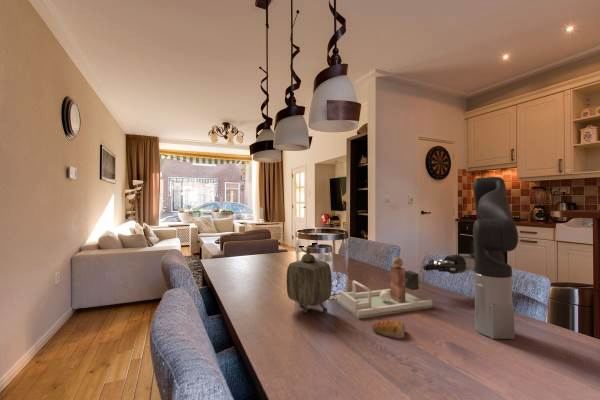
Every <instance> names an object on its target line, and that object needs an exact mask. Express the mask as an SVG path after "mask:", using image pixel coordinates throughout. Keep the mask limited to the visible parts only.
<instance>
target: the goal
mask: <svg viewBox="0 0 600 400" xmlns="http://www.w3.org/2000/svg"><path fill="white" fill-rule="evenodd" d="M356 285H357V286H358V287H360V288H362V289H363V290H366V292H368V302H361V303H358V301H357V300H356V293H357V291H356V289H357V288H356V287H357V286H356ZM371 291H372V289H371V288H370V287H367V286H365V285H364V284H362V283H360V282H358V281H356V280H352V291H350V292H349V291H348V292H345V291H344V290H339V294H338V295H340V302H341V303H343V304H344V305H345V306H346V307H348V308H349V309H350V310H352V311H353V312H354V313H357V310H360V309H367V308H372V298H371Z"/></svg>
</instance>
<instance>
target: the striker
mask: <svg viewBox="0 0 600 400" xmlns="http://www.w3.org/2000/svg"><path fill="white" fill-rule="evenodd" d="M403 261H404V260H403V259H402V258H401V257H398V256H395V257H394V258H393V259H392V261H391V265H392V266H389V269H390V271H389V274H390V277H389V278H390V280H389V281H390V282H389V283H390V288H389V289H390V290H391V298H392V299H394V300H396V301H398V302H401V301H405V292H406V289H409V290H411V291H415V290H419V285H420V284H419V273H417V272H415V271H411V270H406V269H405V268H404V267H402V266H403V265H404V262H403Z"/></svg>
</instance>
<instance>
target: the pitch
mask: <svg viewBox="0 0 600 400" xmlns="http://www.w3.org/2000/svg"><path fill="white" fill-rule="evenodd" d="M382 291H388V292H389V293H390V295H391V290H390V288H386V289H378V290H371V298H372V308H367V309H360V310H357V313H354V312H353V311H352V310H350V309H349V308H348V307H346V306H345V305H344V304H343V303H341V302H340V295H339V294H337V295H336V302H337V303H338V304H339V305H341V307H343V308H344V309H345V310H347V311H348V312H350V313H351V314H352V315H353V316H354V317H355V318H357V319H358V320H359V319H366V318H373V317H380V316H387V315H393V314H398V313H399V314H400V313H405V312H407V313H408V312H413V311H419V310H425V309H426V310H427V309H432V308H433V300H432V299H425V300H423V299H420V298H419V297H416V296H415V295H412V294H410V293H408V292H406V291H405V301H401V302H398V301H396V300H394V299H392V298H391V299H390V300H389V301H388V302H384V301H382V300H381V299H380V293H381V292H382ZM356 300H357V301H358V303H361V302H368V291H362V292H361V291H360V292H356Z"/></svg>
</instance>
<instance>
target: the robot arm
mask: <svg viewBox="0 0 600 400" xmlns="http://www.w3.org/2000/svg"><path fill="white" fill-rule="evenodd" d="M472 192H473V201H474V206H475V213H476V220H475V221H474V222H473V227H472V238H473V239H472V241H473V250H474V251H473V253H458V254H457V253H456V254H449V255H447V256H445V258H444V259H439V260H435V259H430V260H429V261H428V263H425V264H423V266H422V267H423V268H422V269H423V270H424V271H426V272H428V271H435V272H436V271H438V272H440V273H441V272H444V273H449V274H452V275H456V274H463V273H465V274H466V273H469V272H473V271H474V328H475V331H476V332H478V334H479V333H480V334H481V335H484V336H486V337H489V338H491V339H492V340H515V335H516V334H515V333H516V332H515V329H516V327H515V326H516V325H515V305H514V304H513V270H512V269H513V268H512V266H511V265H510V264H508V263H506V261H505V256H504V253H503V252H512V251H514V250H515V249H516V248H517V246H518V243H519V233H518V229H517V225H516V223H515V222H514V218H513V217H512V212H511V208H510V203H509V200H508V198H507V187H506V182H505V180H504V179H503V177H500V176H489V177H487V176H485V177H476V178H475V179H474V180H473V185H472Z"/></svg>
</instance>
